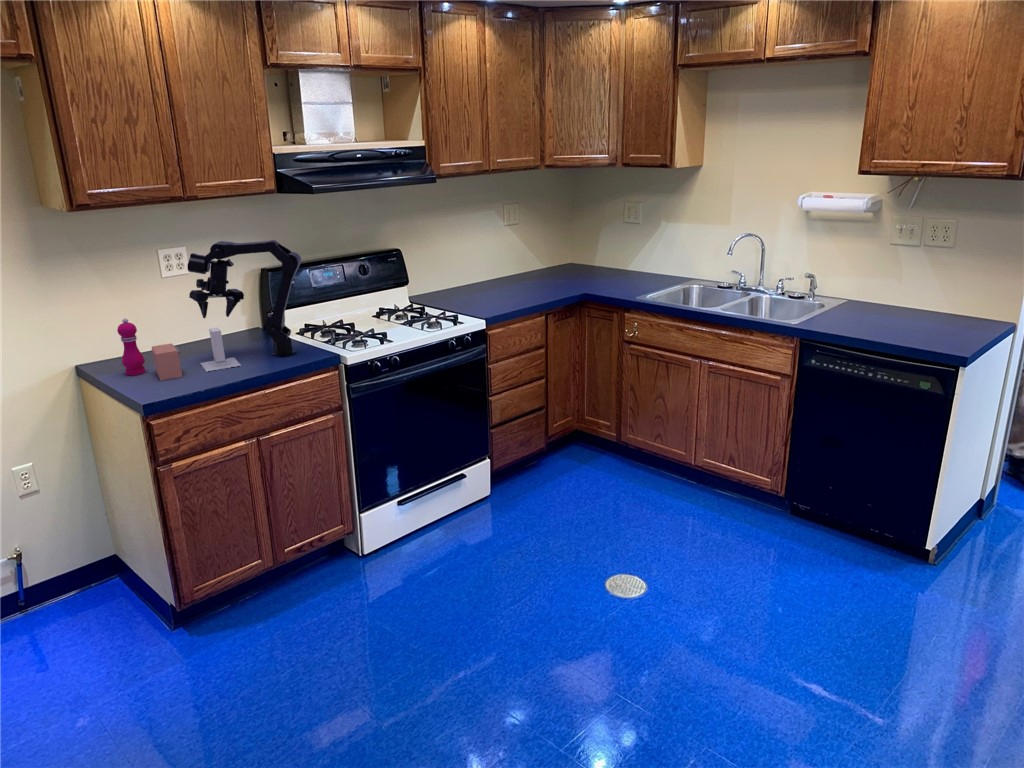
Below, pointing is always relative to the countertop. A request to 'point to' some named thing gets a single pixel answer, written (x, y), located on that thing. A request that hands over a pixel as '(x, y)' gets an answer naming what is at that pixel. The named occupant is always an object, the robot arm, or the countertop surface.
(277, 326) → the robot arm
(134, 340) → the pepper mill
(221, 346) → the white rectangular block
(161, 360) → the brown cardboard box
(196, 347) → the countertop surface
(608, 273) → the countertop surface
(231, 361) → the mat
